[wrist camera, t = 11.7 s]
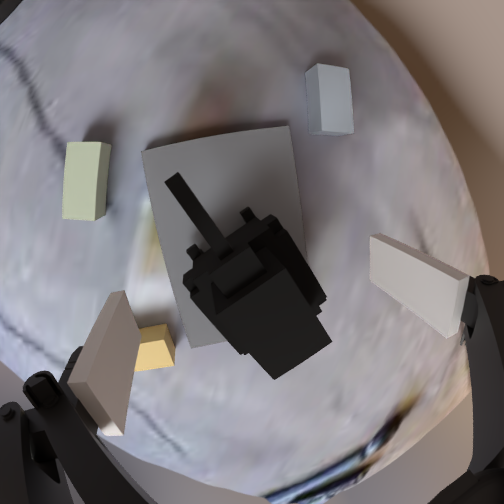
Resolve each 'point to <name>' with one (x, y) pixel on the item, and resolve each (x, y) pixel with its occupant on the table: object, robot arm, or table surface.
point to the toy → (254, 287)
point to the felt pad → (220, 201)
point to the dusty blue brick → (329, 100)
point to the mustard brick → (155, 348)
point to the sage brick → (85, 180)
